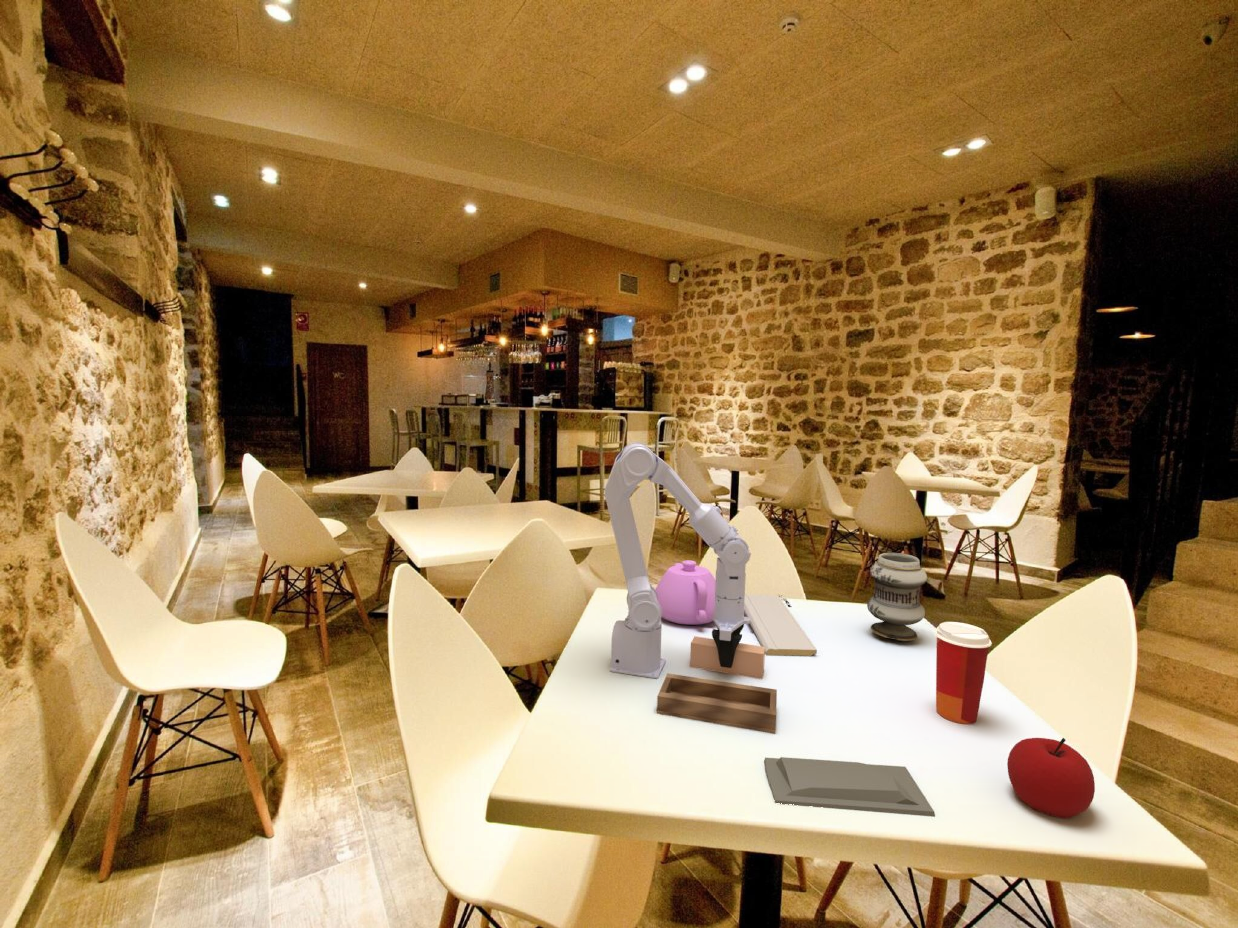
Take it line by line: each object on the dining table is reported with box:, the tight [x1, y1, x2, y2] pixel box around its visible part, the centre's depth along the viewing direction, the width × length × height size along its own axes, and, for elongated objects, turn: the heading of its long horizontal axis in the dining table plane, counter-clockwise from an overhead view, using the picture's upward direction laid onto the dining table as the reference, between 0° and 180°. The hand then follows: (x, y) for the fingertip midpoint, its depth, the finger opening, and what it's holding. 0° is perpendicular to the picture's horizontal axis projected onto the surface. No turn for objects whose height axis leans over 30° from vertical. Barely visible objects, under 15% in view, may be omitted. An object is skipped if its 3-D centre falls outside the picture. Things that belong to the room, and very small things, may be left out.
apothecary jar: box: [866, 552, 928, 642], centre depth 132 cm, size 12×12×18 cm
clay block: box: [689, 636, 766, 680], centre depth 112 cm, size 14×4×5 cm, turn 71°
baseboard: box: [744, 593, 818, 657], centre depth 134 cm, size 31×3×12 cm
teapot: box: [655, 559, 716, 626], centre depth 141 cm, size 22×22×14 cm
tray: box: [656, 672, 778, 735], centre depth 96 cm, size 19×9×4 cm, turn 74°
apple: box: [1006, 737, 1096, 819], centre depth 74 cm, size 9×9×10 cm
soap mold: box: [763, 756, 936, 818], centre depth 77 cm, size 10×20×4 cm, turn 86°
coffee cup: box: [933, 621, 993, 725], centre depth 96 cm, size 8×8×15 cm
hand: (727, 661), depth 112 cm, fingers closed on clay block, 4 cm apart
